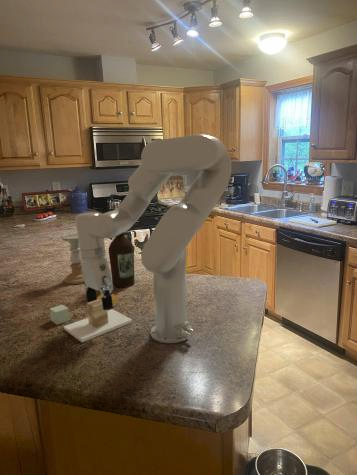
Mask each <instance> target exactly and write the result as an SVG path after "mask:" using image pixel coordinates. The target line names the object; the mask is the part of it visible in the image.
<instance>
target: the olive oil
mask: <svg viewBox="0 0 357 475" xmlns="http://www.w3.org/2000/svg"><path fill="white" fill-rule="evenodd" d="M108 257H109V264H110V265H109V267H110V274H111V279H112V284H113V287H115V288H128V287H131V286H133V285H134V284H135V247H134V244H133V242H132V241H131V240H129V239H128V237H126V236H125V232H123V233H121V234H119V235H118V236H116V237H114V239H113V240H111V242H110V243H109V246H108Z"/></svg>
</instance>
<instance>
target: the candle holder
mask: <svg viewBox="0 0 357 475" xmlns="http://www.w3.org/2000/svg"><path fill="white" fill-rule="evenodd" d="M61 241H63V242H68V243H69V245H70V248H69V251H70V258H69V262H70V265H69V267H70V269H71V272H69V273H68V274H67V275H66V276H65V277H64V279H63V282H64V283H65V284H67V285H80V284H81V285H82V284H84V281H83V278H82V275H83V267H82V260H81V254H80V247H79V240H78V233H75V234H68V235H64V236H62V237H61Z"/></svg>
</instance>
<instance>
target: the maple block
mask: <svg viewBox="0 0 357 475" xmlns="http://www.w3.org/2000/svg"><path fill="white" fill-rule="evenodd" d="M86 309H87V318H88V320H89V324H91V325H92V326H94V327H96V328H97V327H99V326H102V325H104V324H107V323H108V313H107V311H108V309H107V310H103V305H102V300H100V299H98V300H95V301H92V302H86Z"/></svg>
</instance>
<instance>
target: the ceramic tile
mask: <svg viewBox="0 0 357 475" xmlns="http://www.w3.org/2000/svg"><path fill="white" fill-rule="evenodd" d="M107 313H108V323H107V324H104V325H102V326H99V327H97V328H96V327H94V326H92V325H91V324H89V320H88V317H85V318H84V319H80V320H77V321H75V322H72V323H70V324H66V325H64V326H63V330H65V332H68V334H69V335H71V336H72V337H74V338H75V339H76V340H78V341H79V342H80V343H84V342H88V341H90V340H92V339H94V338H97V337H100V336H102V335H104V334H107V333H110V332H112V331H115V330H118V329H119V328H122V327H124V326H127V325H129V324H132V323H133V319H131V318H130V317H127V316H126V315H124V314H122V313H120V312H118V311H117V310H114V309H111V308H110V309H107Z"/></svg>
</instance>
